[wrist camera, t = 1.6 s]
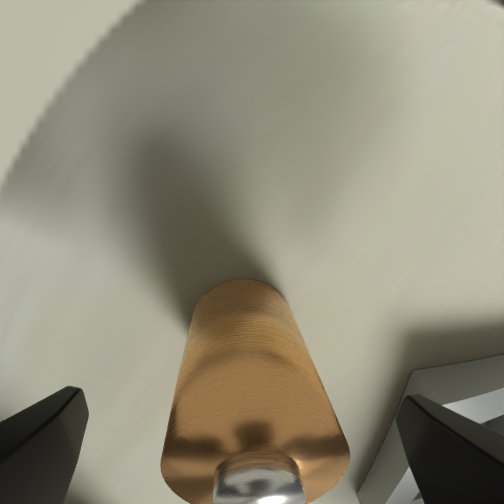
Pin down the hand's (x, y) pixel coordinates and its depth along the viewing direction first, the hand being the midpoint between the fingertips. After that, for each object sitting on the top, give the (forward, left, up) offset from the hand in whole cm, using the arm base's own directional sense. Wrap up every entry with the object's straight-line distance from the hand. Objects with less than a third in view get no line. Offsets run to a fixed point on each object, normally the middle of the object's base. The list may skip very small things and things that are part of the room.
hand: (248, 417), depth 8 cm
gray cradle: (+14, -8, -5) cm, 17 cm away
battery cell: (0, 0, -5) cm, 5 cm away
